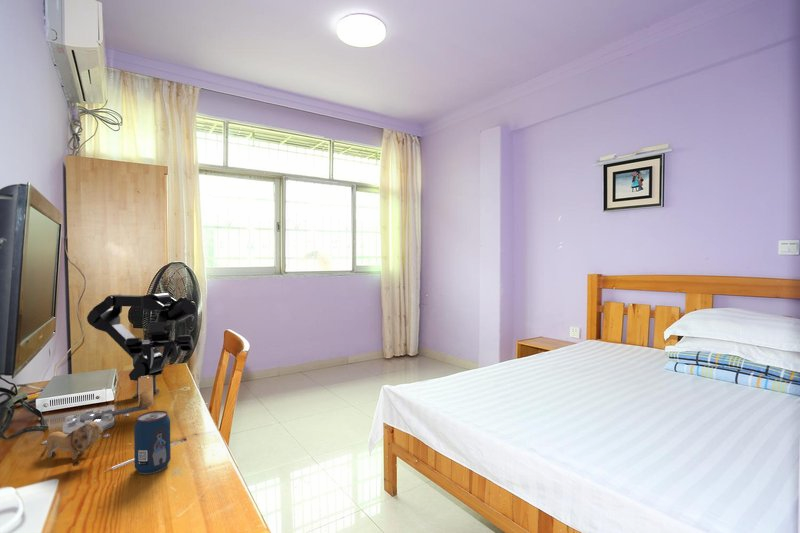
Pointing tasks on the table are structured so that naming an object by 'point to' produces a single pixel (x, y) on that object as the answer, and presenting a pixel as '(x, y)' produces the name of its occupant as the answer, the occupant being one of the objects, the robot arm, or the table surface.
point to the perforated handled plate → (107, 415)
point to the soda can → (152, 442)
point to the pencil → (133, 459)
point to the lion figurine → (74, 440)
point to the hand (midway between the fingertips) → (155, 367)
